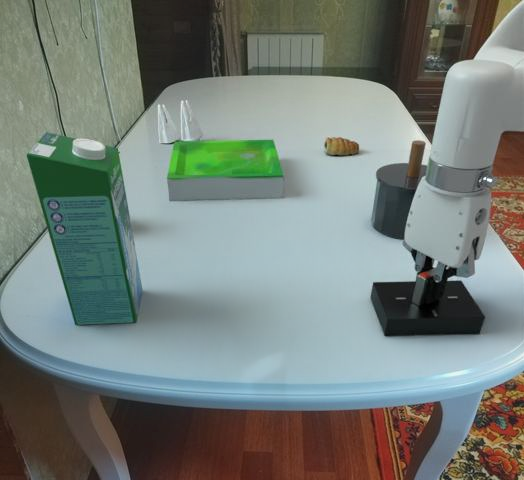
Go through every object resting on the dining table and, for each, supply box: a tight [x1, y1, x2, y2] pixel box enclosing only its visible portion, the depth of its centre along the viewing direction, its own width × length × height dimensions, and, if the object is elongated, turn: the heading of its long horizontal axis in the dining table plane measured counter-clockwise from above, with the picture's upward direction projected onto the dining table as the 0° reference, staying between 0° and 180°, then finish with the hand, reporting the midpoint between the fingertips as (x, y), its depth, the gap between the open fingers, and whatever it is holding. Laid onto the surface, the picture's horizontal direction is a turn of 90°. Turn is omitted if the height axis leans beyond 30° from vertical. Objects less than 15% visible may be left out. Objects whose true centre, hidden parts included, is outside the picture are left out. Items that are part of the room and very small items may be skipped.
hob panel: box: [370, 279, 486, 337], centre depth 76 cm, size 14×10×3 cm
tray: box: [166, 139, 285, 202], centre depth 120 cm, size 25×25×5 cm
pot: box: [370, 179, 416, 241], centre depth 98 cm, size 13×13×10 cm
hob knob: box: [412, 266, 437, 306], centre depth 74 cm, size 5×1×5 cm, turn 125°
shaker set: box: [157, 99, 204, 145], centre depth 139 cm, size 12×4×11 cm, turn 81°
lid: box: [375, 139, 428, 192], centre depth 93 cm, size 14×14×7 cm
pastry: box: [323, 136, 360, 156], centre depth 135 cm, size 9×7×4 cm
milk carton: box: [26, 131, 143, 326], centre depth 71 cm, size 9×9×25 cm
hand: (427, 296), depth 75 cm, fingers closed
